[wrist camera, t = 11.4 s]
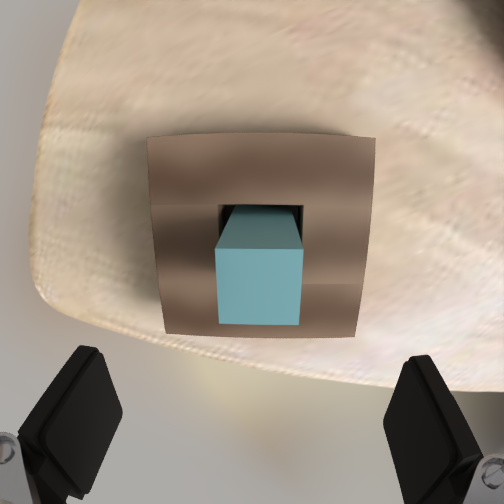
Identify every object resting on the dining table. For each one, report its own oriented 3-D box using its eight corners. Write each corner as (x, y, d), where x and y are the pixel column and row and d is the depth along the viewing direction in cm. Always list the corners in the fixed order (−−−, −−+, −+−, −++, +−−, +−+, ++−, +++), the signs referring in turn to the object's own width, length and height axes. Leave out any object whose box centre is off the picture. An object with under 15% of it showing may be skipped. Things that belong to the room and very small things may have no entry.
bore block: (167, 136, 26) (146, 137, 21) (356, 137, 25) (375, 138, 20) (179, 305, 31) (165, 333, 27) (343, 308, 30) (354, 337, 26)
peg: (235, 204, 27) (214, 248, 16) (289, 204, 26) (303, 249, 16) (236, 254, 28) (218, 323, 18) (288, 255, 28) (298, 325, 18)
